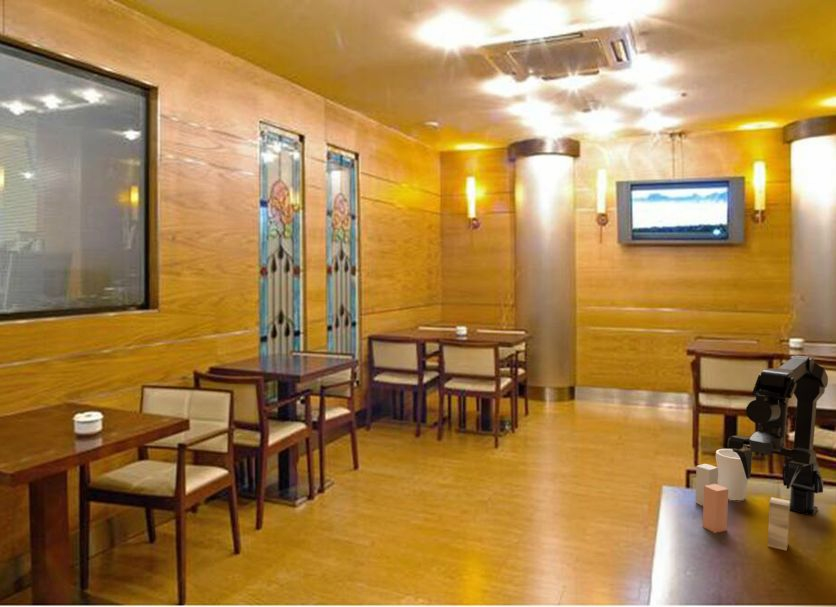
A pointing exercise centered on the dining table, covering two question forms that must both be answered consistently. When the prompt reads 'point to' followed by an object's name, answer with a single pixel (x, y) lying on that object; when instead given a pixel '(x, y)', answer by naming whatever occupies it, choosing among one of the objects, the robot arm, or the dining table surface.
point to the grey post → (705, 480)
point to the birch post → (778, 523)
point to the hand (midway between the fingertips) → (767, 483)
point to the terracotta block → (715, 508)
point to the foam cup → (731, 473)
